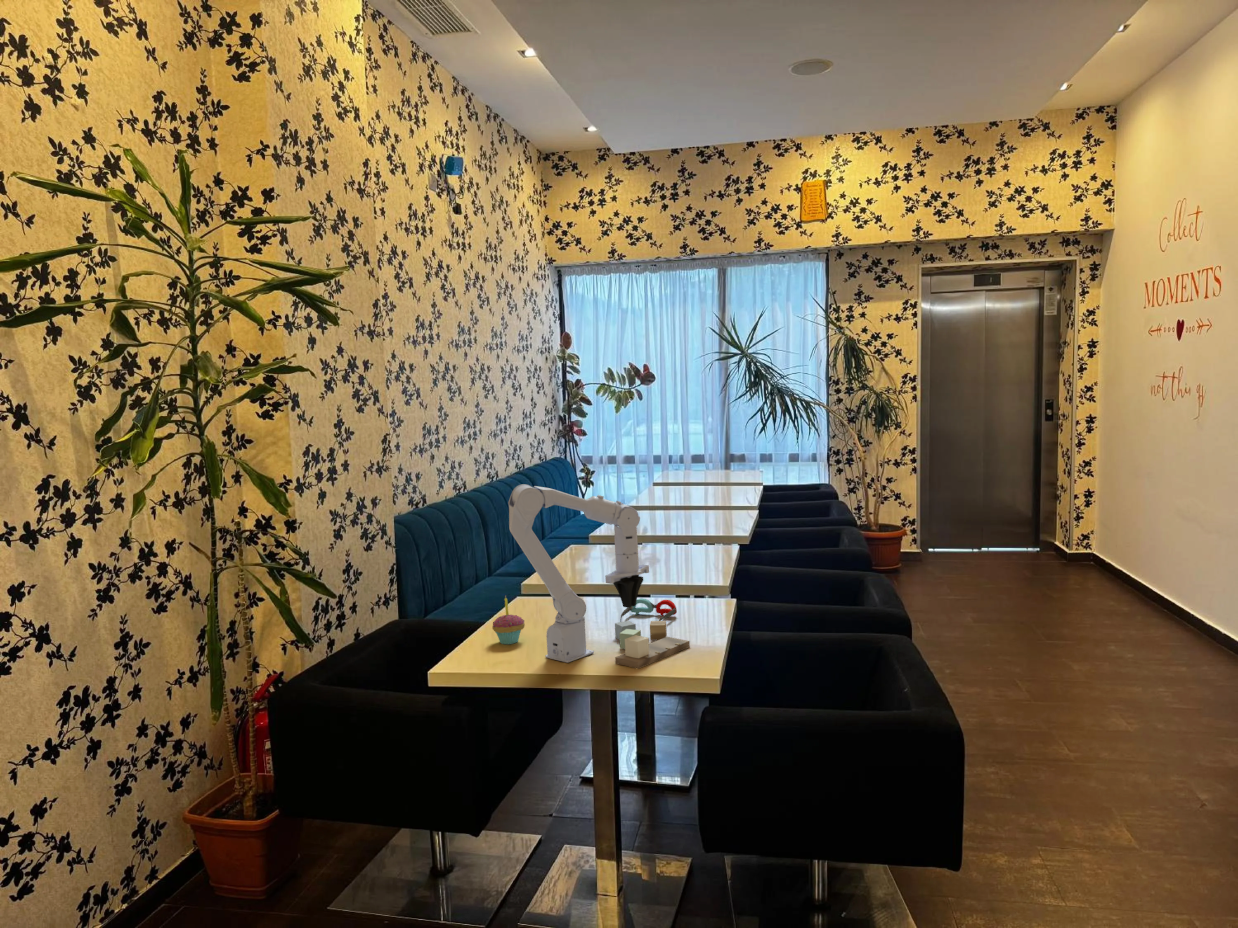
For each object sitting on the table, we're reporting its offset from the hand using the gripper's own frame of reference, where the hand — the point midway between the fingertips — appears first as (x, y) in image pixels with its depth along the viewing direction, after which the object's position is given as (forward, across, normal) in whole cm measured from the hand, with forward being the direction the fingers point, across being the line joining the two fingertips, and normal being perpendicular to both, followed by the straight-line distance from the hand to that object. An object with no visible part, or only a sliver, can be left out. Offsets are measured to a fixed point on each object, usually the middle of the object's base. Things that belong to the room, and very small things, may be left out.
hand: (629, 606), depth 212 cm
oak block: (+11, +10, -1) cm, 15 cm away
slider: (+9, -8, -9) cm, 15 cm away
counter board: (+10, -2, -9) cm, 14 cm away
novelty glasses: (+11, +21, +12) cm, 27 cm away
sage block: (+10, 0, 0) cm, 11 cm away
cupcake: (+10, -14, +30) cm, 35 cm away
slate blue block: (+10, +5, +6) cm, 13 cm away
